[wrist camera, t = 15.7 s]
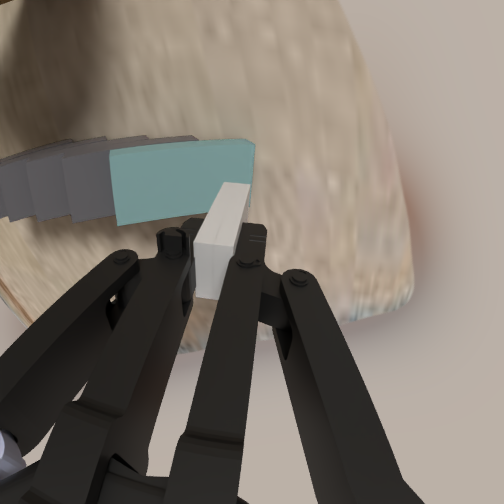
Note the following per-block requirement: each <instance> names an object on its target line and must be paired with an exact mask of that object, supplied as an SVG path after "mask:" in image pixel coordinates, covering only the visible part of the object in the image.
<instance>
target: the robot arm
mask: <svg viewBox="0 0 504 504" xmlns="http://www.w3.org/2000/svg"><path fill="white" fill-rule="evenodd" d="M250 185H251V184H241V183H231V182H224V183H223V185H222V187H221V189H220V191H219V192H218V194H217V196H216V198H215V200H214V202H213V204H212V206H211V208H210V210H209V212H208V214H207V216H206V218H205V219H199V218H190V219H188V220H187V221H185V222H184V223H183V225H182V227H181V228H178V227H170V228H165V229H163V230H161V231H159V232H158V233H157V234H156V237H157V246H158V253H157V255H156V256H155V258H149V259H138V255H137V253H136V252H134V251H133V250H128V249H124V250H123V249H122V250H118V251H115V252H113V253H112V254H110V255H109V256H108V257H106V258H105V259H104V260H103V261H102V262H100V263H99V264H98V265H97V266H96V267H94V268H93V269H92V270H91V271H90V272H89V273H87V274H86V275H85V276H84V277H83V278H82V279H80V280H79V281H78V282H77V283H76V284H75V285H74V286H73V287H71V288H70V289H69V290H68V291H67V292H66V293H65V294H64V295H62V296H61V297H60V298H59V299H58V300H57V301H56V302H55V303H54V304H53V305H52V306H51V307H49V308H48V309H47V310H46V311H45V312H44V313H43V314H42V315H41V316H40V317H39V318H38V319H37V320H36V321H35V322H34V323H33V324H32V325H31V326H30V327H29V328H28V329H27V330H26V331H25V332H24V333H23V334H22V335H21V336H20V337H19V338H18V339H17V340H16V341H15V342H14V343H13V344H12V345H11V346H10V347H9V348H8V349H7V350H6V351H5V352H4V354H3V355H2V356H1V357H0V504H249V503H247V502H246V501H245V500H243V499H241V498H240V497H238V496H237V495H238V487H239V479H240V472H241V464H242V456H243V447H244V436H245V429H246V420H247V412H248V403H249V395H250V387H251V379H252V369H253V361H254V353H255V344H256V335H257V326H258V321H259V322H262V323H264V324H267V325H270V326H272V331H273V335H274V339H275V342H276V346H277V350H278V354H279V358H280V362H281V365H282V369H283V373H284V376H285V381H286V385H287V388H288V392H289V396H290V400H291V403H292V407H293V411H294V415H295V419H296V423H297V427H298V430H299V434H300V438H301V442H302V446H303V450H304V453H305V457H306V461H307V465H308V468H309V472H310V476H311V480H312V484H313V488H314V492H315V495H316V498H317V501H318V504H424V502H423V501H422V500H421V499H420V498H419V497H418V496H417V494H416V493H415V492H414V491H413V490H412V489H411V488H410V487H409V486H408V484H407V483H406V482H405V481H404V480H403V478H402V475H401V473H400V470H399V467H398V465H397V462H396V459H395V457H394V454H393V451H392V449H391V446H390V444H389V441H388V439H387V436H386V434H385V431H384V429H383V426H382V424H381V421H380V419H379V417H378V414H377V412H376V410H375V407H374V404H373V402H372V400H371V397H370V395H369V393H368V390H367V388H366V386H365V383H364V381H363V379H362V377H361V374H360V372H359V370H358V367H357V365H356V363H355V361H354V358H353V356H352V354H351V352H350V349H349V347H348V345H347V343H346V341H345V338H344V336H343V334H342V332H341V330H340V328H339V325H338V323H337V321H336V319H335V317H334V315H333V313H332V311H331V308H330V306H329V304H328V302H327V300H326V298H325V296H324V294H323V292H322V290H321V288H320V286H319V284H318V282H317V279H316V278H315V277H314V276H313V275H312V274H311V273H309V272H307V271H304V270H301V269H291V270H287V271H286V272H284V273H283V274H282V275H280V274H278V273H275V272H273V271H271V270H270V269H269V268H268V267H267V266H266V265H265V262H264V257H265V247H266V237H267V229H266V228H265V226H264V225H263V224H254V223H247V222H248V210H249V197H250ZM195 290H196V297H199V298H206V299H213V300H218V304H217V308H216V311H215V315H214V319H213V323H212V326H211V330H210V334H209V338H208V342H207V346H206V350H205V353H204V357H203V361H202V365H201V369H200V374H199V377H198V381H197V385H196V389H195V393H194V397H193V401H192V406H191V409H190V413H189V418H188V422H187V426H186V429H185V432H184V433H183V434H182V435H181V436H180V438H179V440H178V443H177V446H176V450H175V454H174V458H173V463H172V467H171V471H170V475H169V477H153V476H146V473H147V468H148V460H149V458H148V447H149V443H150V440H151V436H152V433H153V429H154V426H155V422H156V419H157V416H158V412H159V409H160V406H161V402H162V399H163V396H164V392H165V389H166V386H167V383H168V379H169V377H170V373H171V370H172V367H173V364H174V361H175V357H176V355H177V352H178V349H179V345H180V342H181V339H182V336H183V333H184V330H185V327H186V324H187V321H188V318H189V316H190V313H191V310H192V307H193V293H194V291H195ZM114 295H115V298H116V299H115V300H114V301H112V302H111V301H110V299H111V298H112V297H113V296H114ZM87 381H88V382H87ZM86 382H87V384H86ZM85 384H86V386H85V388H84V390H83V393H82V395H81V397H80V398H79V399H78V400H77V401H72V400H73V399H74V397H75V396H76V395H77V394H78V392H79V391H80V390H81V389H82V387H83V386H84V385H85ZM55 422H56V423H55ZM54 423H55V425H54ZM53 425H54V427H53V430H52V432H51V434H50V437H49V439H48V442H47V444H46V446H45V449H44V451H43V454H42V457H41V459H40V460H38V461H37V462H35V463H33V464H31V465H29V466H27V467H26V463H25V460H24V459H23V458H22V457H23V456H25V455H26V454H28V453H29V452H30V451H31V450H32V449H34V448H35V447H36V446H37V445H38V444H39V442H40V441H41V440H42V439H43V438H44V436H45V435H46V434H47V433H48V431H49V430H50V429H51V427H52V426H53Z"/></svg>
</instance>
